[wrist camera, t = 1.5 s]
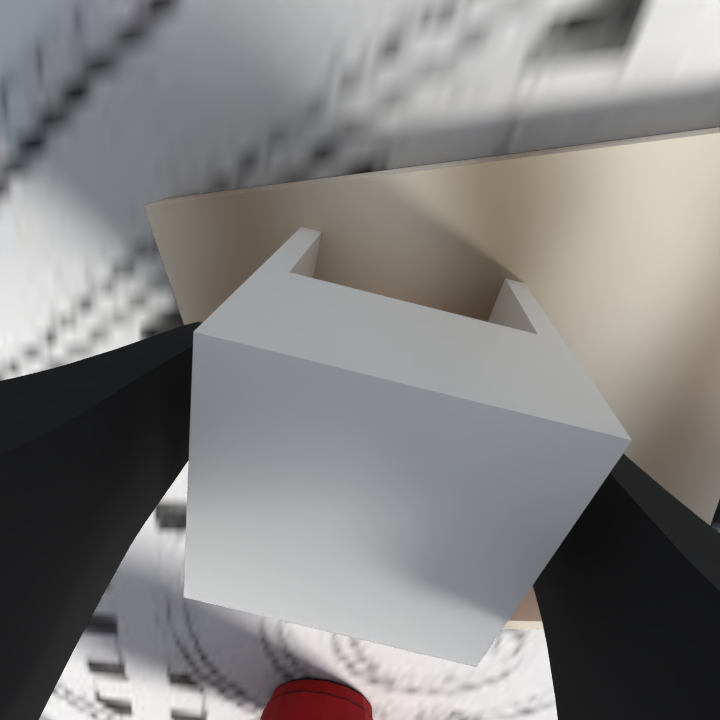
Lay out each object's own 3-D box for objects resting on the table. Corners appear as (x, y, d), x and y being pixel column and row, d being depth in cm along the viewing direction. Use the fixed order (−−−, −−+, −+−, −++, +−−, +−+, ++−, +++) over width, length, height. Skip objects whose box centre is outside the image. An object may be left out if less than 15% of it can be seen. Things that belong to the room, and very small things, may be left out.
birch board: (803, 116, 10) (855, 115, 8) (657, 602, 17) (674, 636, 16) (167, 198, 12) (141, 206, 11) (292, 595, 20) (285, 624, 19)
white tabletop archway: (525, 283, 11) (631, 440, 6) (451, 453, 13) (476, 666, 8) (301, 226, 11) (193, 331, 5) (272, 409, 13) (183, 597, 8)
